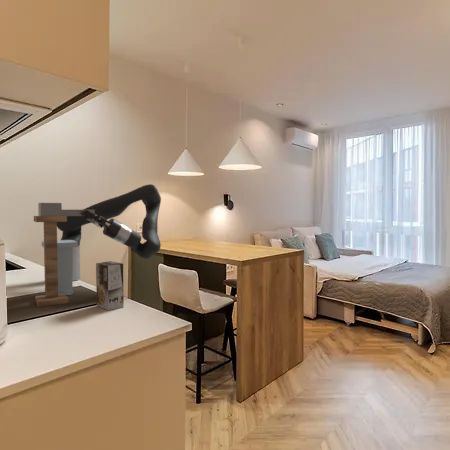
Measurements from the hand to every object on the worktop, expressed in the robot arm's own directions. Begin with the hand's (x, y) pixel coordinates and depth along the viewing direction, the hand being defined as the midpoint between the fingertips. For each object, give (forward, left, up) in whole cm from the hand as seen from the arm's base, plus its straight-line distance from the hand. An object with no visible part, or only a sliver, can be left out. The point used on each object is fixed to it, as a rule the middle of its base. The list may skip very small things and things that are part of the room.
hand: (81, 211), depth 138 cm
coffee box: (+18, +6, -35) cm, 40 cm away
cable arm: (0, -5, -2) cm, 5 cm away
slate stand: (-12, -6, -35) cm, 37 cm away
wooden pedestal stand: (0, -11, -35) cm, 36 cm away
